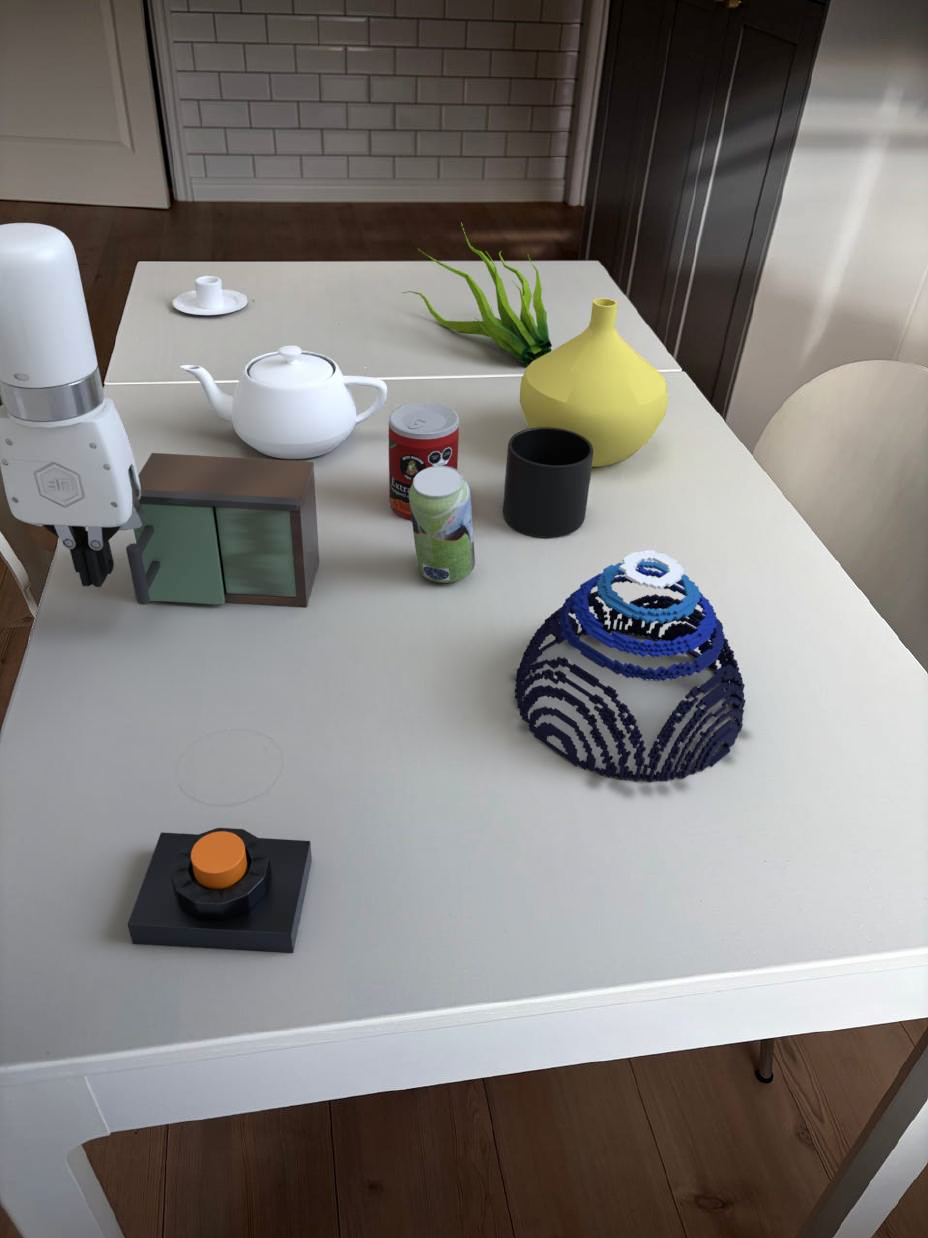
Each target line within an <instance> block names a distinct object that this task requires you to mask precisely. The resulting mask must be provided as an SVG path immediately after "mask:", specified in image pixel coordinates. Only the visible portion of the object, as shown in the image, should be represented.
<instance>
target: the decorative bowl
mask: <svg viewBox="0 0 928 1238" xmlns="http://www.w3.org/2000/svg"><path fill="white" fill-rule="evenodd" d="M652 569H654V570H652ZM655 569H656V570H655ZM626 582H628V583H630V584H633V583H634V584H636V585H638V586H640V587H642V586H645V588H653V589H654V590H657V589H659V590H662V589H664V590H667V589H668V590H670V591H671V592H673V593H679V594H681V595H683V596H684V597H682V598H681V599H679V598H673V597H672V596H670V595H658V594H656V593H655V594H652V595H649V594H646V595H644V596H641V597H638V598H636V599H633V600H631V601H629V603H628V602H626V601H625V600H624V598H623V597H622V596H619V592H617V591H615V590H613V585H614V584H616V583H617V584H619V583H622V584H625V583H626ZM594 588H597V589H596V591H594V592H592V590H593V589H594ZM597 598H599V599H600V600H601V601H600V600H599V599H597ZM604 606H605V607H607V608H608V609H609V611H606V610H605V609H603V608H604ZM697 606H699V607H700V609H701V610H699V609H697ZM591 608H592V610H593V612H591V610H590V609H591ZM570 614H571V615H570ZM572 615H574V617H575V618H574V617H572ZM607 615H608V616H607ZM618 615H621V618H620V617H619V616H618ZM577 621H578V622H577ZM606 621H609V622H610V623H609V624H608V623H606ZM615 621H616V624H615ZM629 621H631V624H629ZM643 622H644V623H643ZM674 622H676V623H674ZM652 624H654V625H653V627H652V628H651V626H652ZM666 624H670V625H669V626H667V628H666V629H664V632H663V633H662V634H661V636H660V631H661V628H663V627H664V625H666ZM626 626H627V629H626ZM614 627H615V628H614ZM579 628H580V629H581V630H580V631H579ZM533 634H534V635H532V637H531V639H530V640H529V643H528V644H527V645H526V649H525V650H524V652H523V653H522V657H521V660H520V662H519V667H518V668H516V677H515V678H514V679H515V689H514V691H513V692H514V693H515V695H514V698H515V699H516V706H517V707H516V708H517V709H519V716H521V720H522V721H524V722H525V723H526V724H528V731H530V732H531V733H532V734H533V737H534V738H535V739H537V740H538V741H539V742H541V743H542V744H544V745H545V746H546V747H548V748H549V749H550V750H552V751H554V752H555V753H556V754H558V755H559V756H561V757H562V758H563V759H564V760H566V761H567V762H569V763H570V764H572V765H573V766H575V767H578V766H579V767H580V768H581V769H583V770H584V771H586V770H589V771H590V772H592V773H593V772H595V773H598V775H600V776H604V775H605V776H606V777H607V778H610V777H611V778H615V777H616V778H617V779H619V780H620V781H621V780H624V781H625V780H629V781H631V780H633V781H634V782H636V783H637V782H639V781H640V780H642V781H643V782H644V781H645V780H646V781H648V782H649V783H652V782H653V781H656V782H658V781H661V782H663V781H665V782H667V781H669V780H672V781H673V780H674V779H676V778H677V779H683V780H684V779H685V778H687V777H688V776H690V774H693V775H695V774H697V772H699V771H701V772H703V771H705V770H706V768H708V767H709V766H710V767H714V766H715V765H716V764H717V763H719V761H721V760H722V759H723V758H724V757H726V756H727V755H728V754H729V753H730V752H731V748H732V747H733V746H734V744H735V743H736V740H737V738H738V735H739V733H740V732H741V731H742V729H743V725H744V723H743V721H744V712H745V709H744V707H745V704H746V699H745V693H744V689H745V686H746V685H745V683H744V681H743V677H742V673H741V672H740V667H739V663H738V660H737V659H735V651H734V650H733V649H731V646H730V645H729V644H730V643H729V639H727V638H726V635H725V634H724V626H723V623H722V622H721V620H720V619H718V617H717V612H715V609H714V606H713V604H711V602H710V600H709V599H708V598H706V597H705V596H704V594H703V593H702V592H701V591H700V589H699V586H698V585H696V582H694V581H693V580H690V577H689V576H688V575H687V574H685V568H684V566H683V565H681V564H680V563H678V560H676V559H674V558H673V557H671V556H668V555H666V554H664V553H663V552H660V553H658V552H657V551H655V550H653V549H651V550H649V549H646V550H645V551H642V550H640V551H637V552H636V551H633V552H631V553H630V554H628V555H626V556H625V557H623V558H621V562H618V563H616V564H615V565H613V564H610V565H608V566H606V567H605V568H603V571H602V572H601V573H598V574H597V575H595V576H593V577H591V578H589V579H588V580H586V581H585V582H583V583H581V584H580V585H579V588H578V589H576V590H575V591H573V592H571V594H570V595H569V596H568V597H566V598H565V600H564V602H563V604H562V606H560V607H559V608H558V609H557V610H555V611H554V612H553V613H551V614H550V616H549V617H546V618H545V619H544V622H543V623H542V624H541V626H540V627H539V628H537V629H536V631H535V632H534V633H533ZM582 635H584V636H586V635H587V636H590V637H592V638H593V639H595V640H597V641H598V642H600V643H602V644H603V645H605V646H606V647H608V648H609V649H613V648H614V649H616V650H617V651H618V652H621V653H623V652H625V653H627V654H633V655H635V656H638V655H639V656H641V657H642V658H645V657H647V656H650V657H651V658H653V659H654V658H657V659H659V658H660V657H661V656H662V657H664V658H665V657H669V658H670V657H671V656H673V655H674V656H678V655H679V654H681V655H684V654H688V655H689V656H691V657H692V658H694V659H693V662H690V661H689V660H687V661H685V662H684V663H683V662H682V661H680V662H679V663H678V664H676V663H673V664H671V665H670V666H668V667H667V668H665V667H664V666H662V665H660V666H658V667H657V668H655V669H654V668H652V667H651V666H648V667H647V668H646V669H645V668H644V667H642V666H640V665H639V664H637V665H634V664H633V663H631V662H629V663H627V662H624V663H622V662H621V661H619V660H617V659H614V660H613V659H612V658H609V657H608V656H606V655H604V654H603V653H602V652H600V651H598V650H597V649H595V648H593V647H592V646H590V645H588V644H587V643H585V642H584V641H582V640H581V636H582ZM628 635H630V636H631V635H633V636H636V637H638V636H639V637H642V636H643V637H645V639H643V640H642V641H640V640H639V639H638V638H636V637H633V636H632V637H629V636H628ZM550 636H553V637H555V638H554V639H553V640H552V641H550V642H548V643H547V644H546V645H544V646H542V645H543V644H544V642H545V641H546V639H547V638H548V637H550ZM646 638H649V640H648V639H646ZM565 641H567V644H568V645H569V646H571V647H573V648H574V649H576V650H577V651H579V653H580V655H581V656H582V657H584V658H586V659H588V660H589V661H590V662H592V663H594V664H595V665H597V666H599V667H600V668H602V669H604V668H606V669H608V670H609V671H611V672H613V673H614V674H616V675H618V676H619V675H622V676H623V677H625V678H627V679H629V678H631V679H634V678H635V679H639V678H640V679H641V680H643V681H646V680H647V681H651V680H652V681H658V682H659V681H662V682H664V681H666V680H670V681H671V680H674V681H676V680H677V679H679V678H680V677H682V678H685V677H687V676H689V677H691V676H693V675H694V674H695V673H697V674H700V673H702V672H703V671H704V670H705V669H707V668H708V669H710V670H712V671H713V675H712V676H711V677H710V678H709V679H707V680H706V681H705V682H703V683H702V684H701V685H700V686H697V685H695V686H693V687H692V688H691V689H690V690H689V692H688V693H687V694H685V695H684V699H682V700H680V701H679V702H678V704H677V705H676V707H675V709H674V710H672V712H671V714H670V715H669V716H668V718H667V719H666V722H665V723H664V725H663V726H662V727H661V729H660V730H659V731H658V734H657V735H656V740H654V741H653V744H652V746H651V747H650V750H649V753H647V756H646V757H647V758H648V759H649V761H648V764H647V763H646V762H645V761H646V758H645V757H644V752H646V750H647V747H646V746H645V740H644V739H642V738H643V737H644V735H643V734H642V733H641V732H642V731H641V730H640V729H639V726H638V725H637V722H638V720H637V719H636V718H635V717H636V716H635V715H634V714H633V713H631V710H630V709H629V708H628V707H629V706H628V705H627V704H625V703H624V702H622V701H621V700H619V699H617V698H619V694H618V693H617V689H615V688H613V687H612V686H611V685H607V686H606V685H604V684H603V683H601V682H600V679H599V678H598V677H596V676H594V675H593V674H591V673H590V672H588V671H587V670H585V669H583V668H582V667H580V666H579V665H577V664H576V663H573V664H571V663H570V662H569V661H570V660H569V659H568V658H566V657H565V656H563V657H560V656H557V657H556V659H555V658H553V659H550V660H549V659H547V658H546V659H543V660H540V661H538V658H539V657H541V656H543V653H544V652H545V651H546V650H548V649H550V648H551V647H553V646H555V645H556V644H559V645H560V644H562V643H563V642H565ZM696 649H698V651H699V652H698V651H696ZM537 661H538V662H537ZM717 661H718V664H719V665H720V667H719V666H718V665H717ZM545 666H548V667H549V668H548V669H545V670H542V669H544V667H545ZM560 667H561V668H564V669H565V668H567V669H569V673H571V674H573V675H574V676H576V677H577V678H579V679H580V680H582V681H583V682H585V683H586V684H588V685H589V686H591V687H592V688H596V687H597V688H599V689H600V690H602V691H603V694H604V695H605V696H607V697H608V698H610V701H611V702H612V703H613V704H615V707H616V708H617V712H618V713H617V717H618V718H619V721H620V722H621V725H622V726H623V729H624V730H625V731H626V732H625V733H626V734H625V733H624V730H623V729H620V727H618V724H617V723H616V722H618V718H617V717H616V711H615V710H613V709H611V708H610V707H609V704H608V703H607V702H605V701H604V697H602V696H600V695H598V694H597V693H595V694H593V693H591V692H589V691H588V690H586V689H585V688H583V686H580V685H579V684H578V683H575V682H574V681H573V680H571V679H569V678H568V677H567V674H566V673H564V672H563V671H562V670H560V669H559V668H560ZM550 668H551V669H550ZM556 669H559V670H556ZM539 670H542V671H541V672H539ZM554 670H555V671H554ZM537 671H538V672H537ZM555 677H556V678H555ZM543 679H544V680H545V681H547V680H549V681H551V682H552V683H553V684H555V685H559V684H560V683H562V684H563V685H565V684H567V685H568V686H570V687H571V688H573V689H575V690H576V691H578V692H579V693H581V694H582V695H584V696H585V697H587V698H588V701H589V702H591V703H592V704H594V706H593V710H594V711H595V712H597V714H598V716H599V718H600V719H599V720H601V721H602V724H603V725H605V726H607V727H606V728H607V730H608V731H609V734H610V735H611V738H612V739H613V742H614V743H616V744H615V747H614V748H615V749H616V750H617V751H616V755H618V761H617V766H616V762H615V761H612V760H613V759H614V756H613V755H612V754H611V755H610V753H611V752H610V750H608V747H609V745H608V744H607V741H606V740H605V739H604V736H602V734H603V733H602V732H601V731H600V728H599V727H598V724H596V723H597V722H598V719H597V718H596V715H595V714H594V713H592V714H590V713H591V709H590V708H588V707H587V704H586V703H585V702H584V701H582V700H581V699H579V698H578V697H576V696H575V695H574V694H573V693H570V692H569V691H567V690H566V689H564V688H563V687H560V688H559V687H557V686H556V687H553V686H551V684H547V685H542V684H540V685H536V686H533V685H534V683H535V682H537V681H540V680H543ZM531 686H533V687H531ZM530 687H531V689H530V690H529V688H530ZM528 690H529V691H528ZM526 691H528V692H527V693H526ZM700 694H703V695H704V696H703V697H701V698H700V699H699V697H698V696H700ZM543 697H547V698H548V699H549V698H552V699H553V700H554V699H555V698H556V699H557V700H558V701H560V702H562V701H564V702H565V703H567V704H569V705H570V706H572V707H576V708H575V712H577V713H578V714H579V715H580V716H582V719H583V720H585V721H586V722H587V724H586V725H588V726H590V727H591V729H590V731H589V735H590V736H591V738H592V739H593V743H595V747H597V748H600V750H602V752H601V753H599V757H600V758H601V759H602V760H601V764H603V765H605V766H604V768H603V767H601V768H599V766H596V764H597V758H596V757H595V754H593V748H592V747H591V744H590V743H589V740H588V739H587V736H586V735H585V732H584V731H583V730H581V729H580V726H579V725H578V722H577V721H576V720H574V719H573V718H571V717H570V716H568V715H566V714H565V712H562V711H561V710H560V709H558V708H556V707H555V708H553V707H551V706H550V707H547V706H541V707H539V708H538V707H537V708H535V709H533V710H532V712H530V709H531V708H533V706H534V705H536V703H537V702H539V699H541V698H543ZM691 698H692V699H691ZM724 698H725V700H724ZM689 699H691V700H689ZM722 700H724V701H722ZM721 701H722V702H721ZM720 702H721V704H720V706H721V707H720V708H718V709H717V710H716V711H715V712H714V713H713V712H712V711H711V712H709V711H710V710H711V709H712V708H713V707H714V706H716V705H717V704H718V703H720ZM730 705H731V707H732V708H730V709H729V710H728V711H727V712H725V711H726V710H727V708H728V706H730ZM600 706H601V707H600ZM702 706H704V707H703V708H701V707H702ZM693 708H695V709H696V710H695V711H693V714H692V717H690V718H689V719H688V720H687V721H688V722H687V723H685V724H684V726H683V728H681V731H680V732H679V734H678V735H677V736H676V739H675V740H674V741H673V745H672V746H671V747H670V751H669V752H668V753H667V757H666V758H665V759H664V764H663V765H661V769H660V771H659V770H658V765H659V764H660V763H661V759H662V754H661V753H664V752H665V749H666V748H667V747H668V743H669V742H670V741H671V738H673V736H674V732H676V727H675V726H676V724H677V725H679V724H681V723H682V722H683V720H684V719H685V718H686V715H687V714H688V713H690V712H691V711H692V709H693ZM529 712H530V713H529ZM626 714H627V715H626ZM678 714H679V715H678ZM549 715H550V717H554V716H555V717H556V718H558V719H559V720H561V721H562V722H563V723H565V724H567V726H569V727H571V729H574V730H573V731H574V732H575V733H576V736H577V737H578V740H579V741H580V742H581V743H582V748H583V749H584V752H585V753H586V759H585V760H584V759H581V760H580V758H579V756H578V751H579V750H578V748H576V746H577V745H576V744H574V741H573V740H572V736H570V735H569V734H567V733H566V732H565V731H563V730H562V729H560V728H558V727H557V726H556V725H554V724H553V723H551V722H546V721H543V722H540V723H539V725H537V721H539V719H540V718H541V717H542V716H544V717H546V716H549ZM713 717H714V718H716V720H715V721H714V722H713V723H712V724H710V725H709V726H708V727H707V728H706V730H705V731H703V730H702V729H703V727H704V726H705V725H706V724H707V723H708V721H709V720H710V719H711V718H713ZM728 718H730V719H728ZM732 718H734V720H731V719H732ZM726 719H728V720H727V721H726V722H725V723H723V721H725V720H726ZM721 723H723V724H722V725H720V724H721ZM536 725H537V726H536ZM719 725H720V726H719ZM631 726H632V727H633V728H632V727H631ZM718 726H719V727H718ZM717 727H718V728H717ZM715 728H717V729H716V730H715ZM711 733H712V735H711ZM626 735H629V736H628V737H627V740H629V744H630V745H631V748H632V749H634V750H635V752H634V753H633V757H632V759H633V760H634V766H635V767H636V770H635V773H634V771H633V770H632V769H630V766H629V765H627V764H628V761H629V757H630V756H631V755H632V751H630V750H628V749H627V748H626V742H624V739H626ZM697 735H699V736H700V737H699V740H697V742H696V744H695V745H694V748H693V749H692V750H690V749H689V747H690V746H691V745H692V743H693V742H694V740H695V738H696V737H697ZM550 737H555V738H556V739H557V740H559V741H560V744H561V745H562V748H563V749H564V751H563V750H561V749H560V748H558V746H555V745H554V744H553V743H552V742H550V741H549V740H548V738H550ZM707 738H708V740H707V741H706V739H707ZM686 740H688V741H687V742H686ZM705 742H706V743H705ZM704 743H705V744H704ZM681 744H684V745H683V747H682V748H681V747H680V745H681ZM720 746H721V747H722V748H721V749H720V750H719V747H720ZM699 751H700V752H699ZM660 752H661V753H660ZM697 754H698V756H697ZM619 756H620V757H619ZM696 756H697V758H696ZM676 759H677V761H676ZM672 760H673V761H672ZM674 761H676V762H674ZM683 761H684V762H683ZM693 761H695V762H694V766H693ZM618 766H619V770H618ZM692 766H693V767H692ZM648 769H649V770H650V771H649V774H647V773H648ZM679 769H680V770H679ZM617 771H618V772H617Z"/></svg>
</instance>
